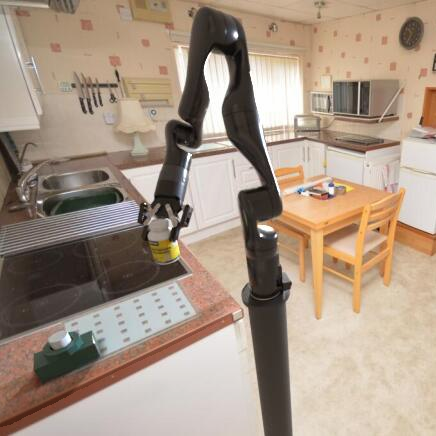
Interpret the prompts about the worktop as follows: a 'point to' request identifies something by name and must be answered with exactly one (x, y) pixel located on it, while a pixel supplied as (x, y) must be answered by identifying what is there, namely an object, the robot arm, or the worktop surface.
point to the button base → (65, 356)
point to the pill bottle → (162, 242)
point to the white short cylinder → (59, 340)
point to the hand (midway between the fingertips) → (158, 241)
